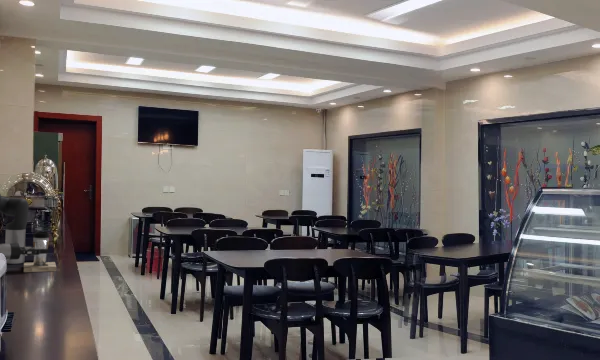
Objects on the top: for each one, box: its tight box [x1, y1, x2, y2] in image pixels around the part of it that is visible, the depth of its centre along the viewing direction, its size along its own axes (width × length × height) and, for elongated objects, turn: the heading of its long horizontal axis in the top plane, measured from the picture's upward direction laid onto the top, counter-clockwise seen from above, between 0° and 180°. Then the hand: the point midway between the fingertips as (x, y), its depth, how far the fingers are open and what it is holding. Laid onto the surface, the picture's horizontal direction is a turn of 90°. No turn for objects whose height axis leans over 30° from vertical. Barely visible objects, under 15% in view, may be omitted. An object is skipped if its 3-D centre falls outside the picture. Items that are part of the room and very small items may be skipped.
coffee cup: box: [32, 231, 50, 250], centre depth 309 cm, size 8×8×15 cm
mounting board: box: [23, 261, 57, 273], centre depth 279 cm, size 18×14×2 cm
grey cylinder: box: [33, 240, 49, 266], centre depth 277 cm, size 6×5×12 cm
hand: (45, 250), depth 278 cm, fingers closed on grey cylinder, 5 cm apart
